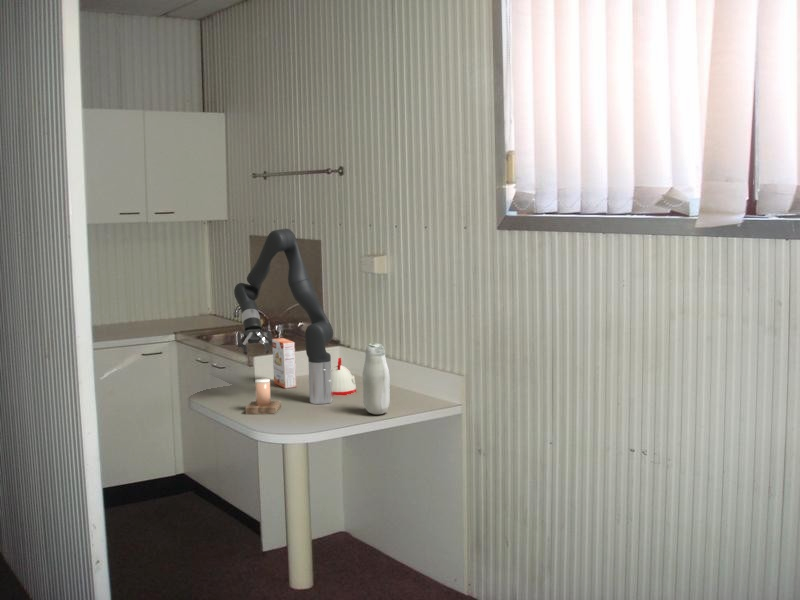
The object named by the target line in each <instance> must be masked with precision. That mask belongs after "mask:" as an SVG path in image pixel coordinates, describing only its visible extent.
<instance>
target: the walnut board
mask: <svg viewBox="0 0 800 600" xmlns="http://www.w3.org/2000/svg"><path fill="white" fill-rule="evenodd" d="M281 408H282V400H271V405H268V406H257V405H256V400H253V401H250V402H249V403H248V404H247V405H246V406H245V415H275V414H274V413H276V414H277V413H278V412H279V411H280V409H281ZM278 410H279V411H278ZM277 411H278V412H277ZM270 413H271V414H270ZM272 413H273V414H272Z"/></svg>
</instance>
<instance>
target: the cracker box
mask: <svg viewBox="0 0 800 600" xmlns="http://www.w3.org/2000/svg"><path fill="white" fill-rule="evenodd" d="M295 344H296V342H294V341H292V340H290V339H288V338H284V337H280V338H279V337H278V338H272V345H271V346H272V363H273V364H272V365H273V366H272V368H273V384H275V385H277V386H279V387H282V388H283V389H285V390H287V389H291V388H292V389H294V388H297V374H296V373H297V372H296V371H297V370H296V366H297V365H296V345H295Z"/></svg>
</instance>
